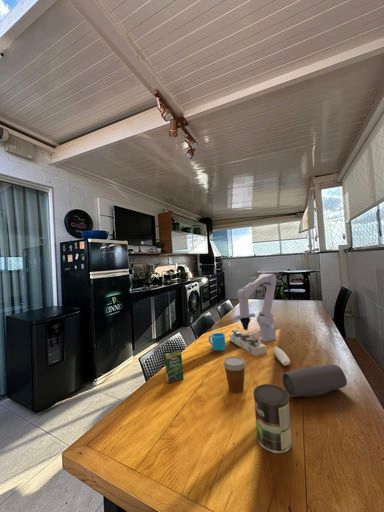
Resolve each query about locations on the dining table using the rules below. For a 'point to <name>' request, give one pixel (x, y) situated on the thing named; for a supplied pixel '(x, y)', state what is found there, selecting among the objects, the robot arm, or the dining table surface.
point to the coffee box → (173, 366)
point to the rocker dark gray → (244, 336)
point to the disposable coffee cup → (235, 373)
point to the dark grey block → (236, 332)
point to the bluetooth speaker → (314, 380)
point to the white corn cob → (281, 356)
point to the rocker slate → (253, 340)
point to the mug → (218, 341)
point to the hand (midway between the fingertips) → (245, 329)
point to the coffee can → (272, 418)
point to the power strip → (249, 345)
